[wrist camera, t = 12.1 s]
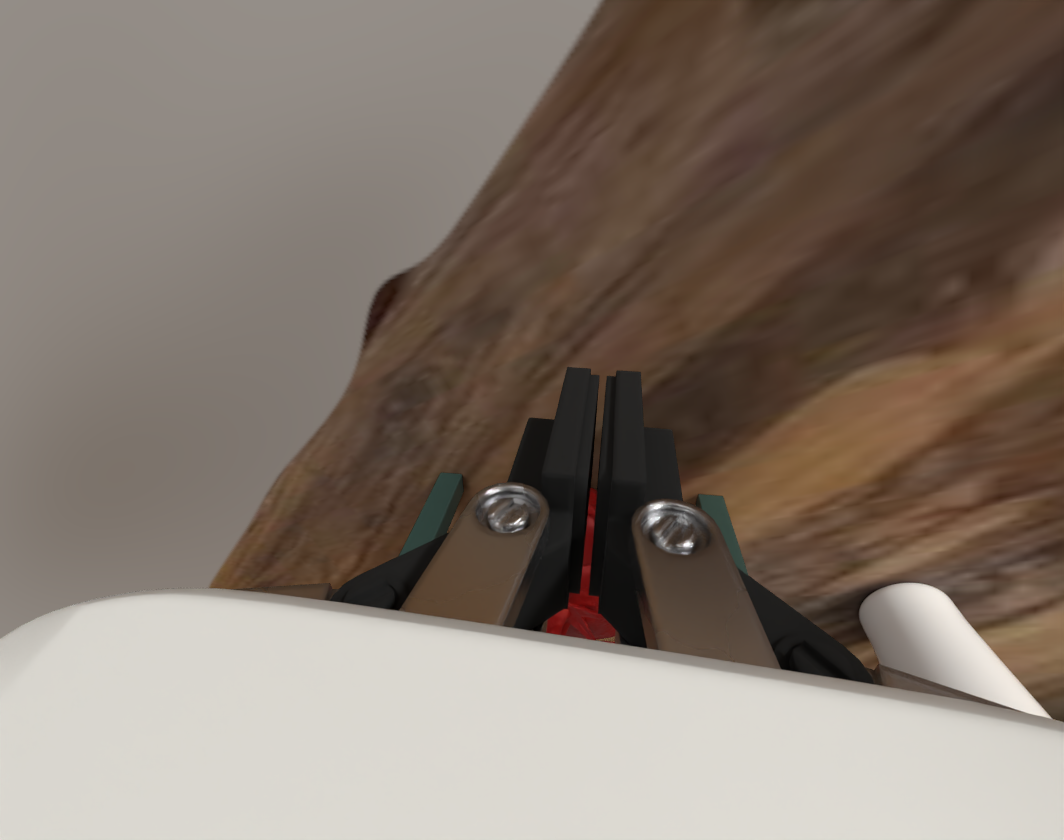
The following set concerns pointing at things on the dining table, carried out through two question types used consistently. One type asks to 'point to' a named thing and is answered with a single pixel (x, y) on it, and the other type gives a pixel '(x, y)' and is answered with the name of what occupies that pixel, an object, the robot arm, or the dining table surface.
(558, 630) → the pomegranate
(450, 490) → the bench
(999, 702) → the white paper cup
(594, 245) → the dining table surface
